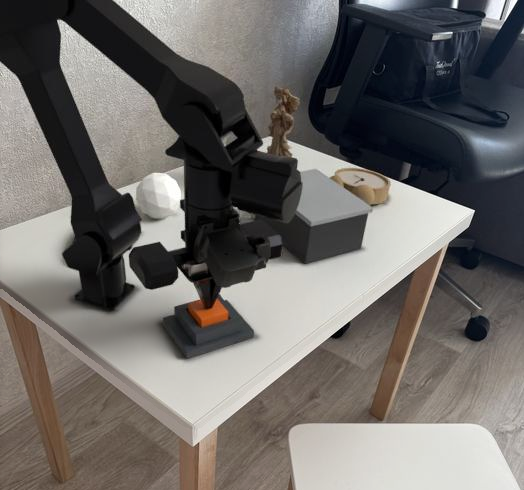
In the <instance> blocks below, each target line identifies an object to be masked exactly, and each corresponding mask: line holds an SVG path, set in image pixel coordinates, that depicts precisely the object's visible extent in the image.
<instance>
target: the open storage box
mask: <svg viewBox="0 0 524 490" xmlns="http://www.w3.org/2000/svg"><path fill="white" fill-rule="evenodd" d="M368 217H369V213H366V214H362V215H358V216H353V217H349V218H345V219H341V220H336V221H332V222H328V223H323V224H319V225H315V226H310V225H308V224H307V223H306V222H305V221H304V220H302V219H301V218H300V217H299V216H297V215H296V214H294V216H293V218H292V219H291V221H290V222H289V223H282V222H278V221H275V220H271V219H268V218H264V217H261V216H257V215H254V219H255V221H256V220H260V219H262V220H263V221H264V222H265V223H266V224H267V225H269V226H270V227H271V228H272V229H273V230H274V231H275V232H277V233H278V234H279V235H280V236H281V237H282V240H283V246H285V247H286V248H287V249H288V250H289V251H290V252H292V253H293V254H294V255H295V256H296V257H297V258H298V259H300V260H301V261H302V262H303V263H304V264H306V265H307V264H309V263H314V262H317V261H318V262H319V261H321V260H326V259H328V258H329V259H330V258H333V257H336V256H340V255H344V254H348V253H351V252H354V251H359V250H361V249H362V247H363V246H362V245H363V241H364V236H365V231H366V226H367V221H368Z"/></svg>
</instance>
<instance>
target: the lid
mask: <svg viewBox="0 0 524 490" xmlns="http://www.w3.org/2000/svg"><path fill="white" fill-rule="evenodd" d="M300 173H301V182H303V187H302V193H301V198H300V201H299V205H298V207H297V210H296V212H295V214H296V215H297V216H299V217H300V218H301V219H302V220H304V221H305V222H306V223H307V224H308V225H310V226H315V225H319V224H323V223H328V222H332V221H336V220H341V219H345V218H349V217H353V216H358V215H362V214H366V213H368V214H371V213H373V210H374V208H373V206H372V205H371V206H370V205H368V204H367V203H365V202H364V201H362V200H361V199H359V198H358V197H356V196H355V195H354V194H352V193H351V192H349V191H348V190H346V189H345V188H343V187H342V186H340V185H339V184H338V183H336V182H335V181H333V180H332V179H330V177H329V176H327V175H326V174H324V173H323V172H322V171H320V170H319V169H317V168H312V169H306V170H302V171H300Z"/></svg>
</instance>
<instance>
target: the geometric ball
mask: <svg viewBox="0 0 524 490" xmlns="http://www.w3.org/2000/svg"><path fill="white" fill-rule="evenodd" d="M181 198H182V191H181V188H180V187H179V185H178V183H177V181H176V179H174V178H172V177H171V176H170V175H168V174H166V173H164V172H155V171H154V172H151V173H149V174H148V175H146V176H144V177H143V178H141V180H140V181H139V183H138V185H137V186H136V189H135V200H136V201H135V202H136V203H137V204H138V207H139V210H141V212H142V213H144V214H145V215H147V216H149V217H150V218H151V219H166V218H167V217H170V216H171V215H173V214H175V213H176V212H177V209H178V208H179V207H180V200H182V199H181Z"/></svg>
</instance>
